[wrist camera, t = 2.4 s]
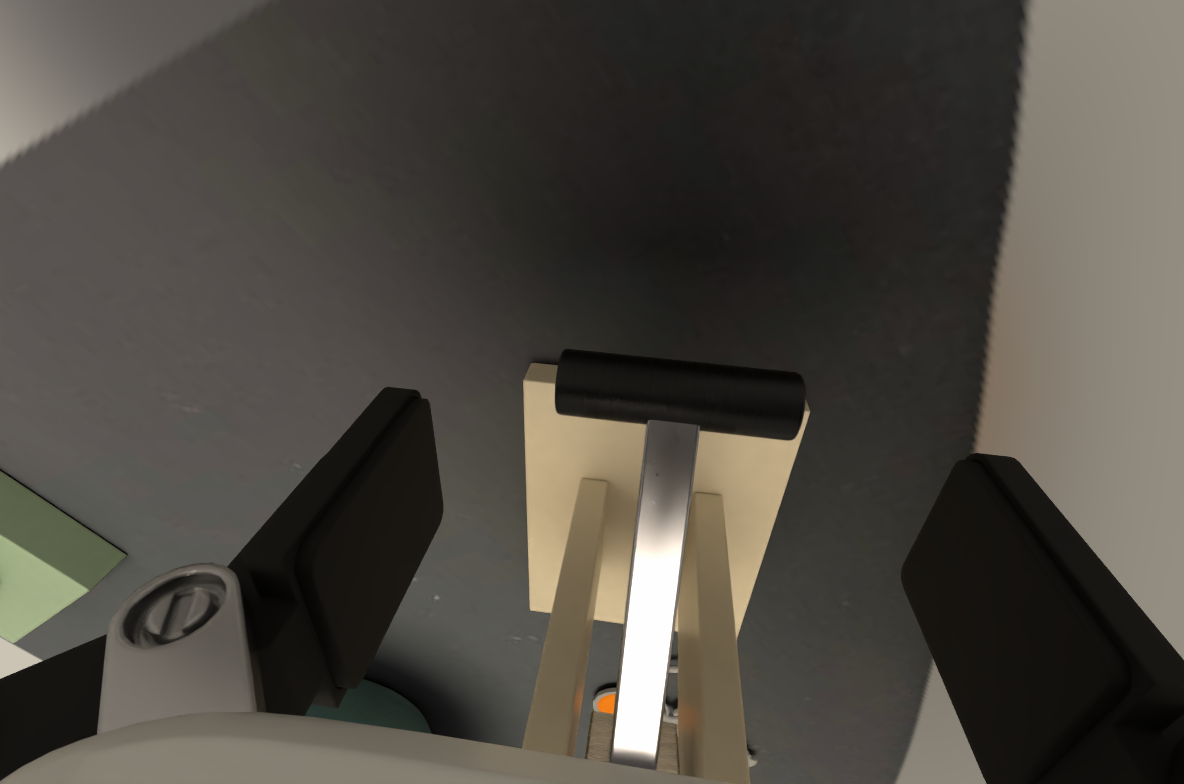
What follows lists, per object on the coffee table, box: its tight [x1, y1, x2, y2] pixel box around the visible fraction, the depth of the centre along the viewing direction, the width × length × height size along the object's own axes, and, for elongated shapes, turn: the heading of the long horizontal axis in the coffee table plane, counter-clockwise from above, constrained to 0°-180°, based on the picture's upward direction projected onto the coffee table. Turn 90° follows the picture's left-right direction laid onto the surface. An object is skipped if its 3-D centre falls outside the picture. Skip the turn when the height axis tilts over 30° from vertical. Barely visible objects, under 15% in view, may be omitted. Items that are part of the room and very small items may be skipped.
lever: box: [555, 349, 806, 774], centre depth 12 cm, size 12×5×2 cm, turn 177°
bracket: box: [522, 363, 810, 784], centre depth 17 cm, size 12×9×12 cm
